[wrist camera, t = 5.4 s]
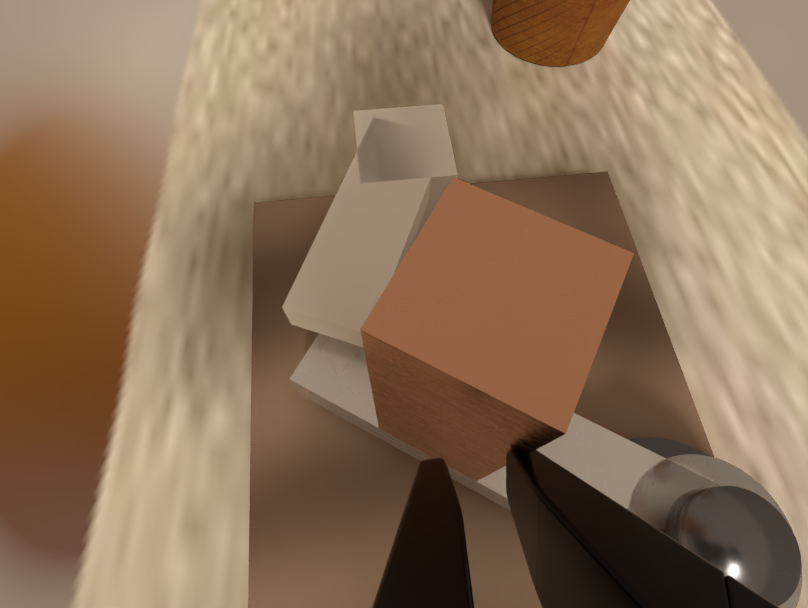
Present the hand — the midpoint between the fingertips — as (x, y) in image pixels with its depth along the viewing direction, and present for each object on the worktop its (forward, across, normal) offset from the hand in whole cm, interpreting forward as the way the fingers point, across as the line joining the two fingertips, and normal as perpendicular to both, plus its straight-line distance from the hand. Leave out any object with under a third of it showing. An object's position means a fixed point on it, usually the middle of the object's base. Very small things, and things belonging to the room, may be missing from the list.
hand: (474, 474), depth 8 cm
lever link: (+6, -3, +4) cm, 7 cm away
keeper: (+11, +1, 0) cm, 11 cm away
